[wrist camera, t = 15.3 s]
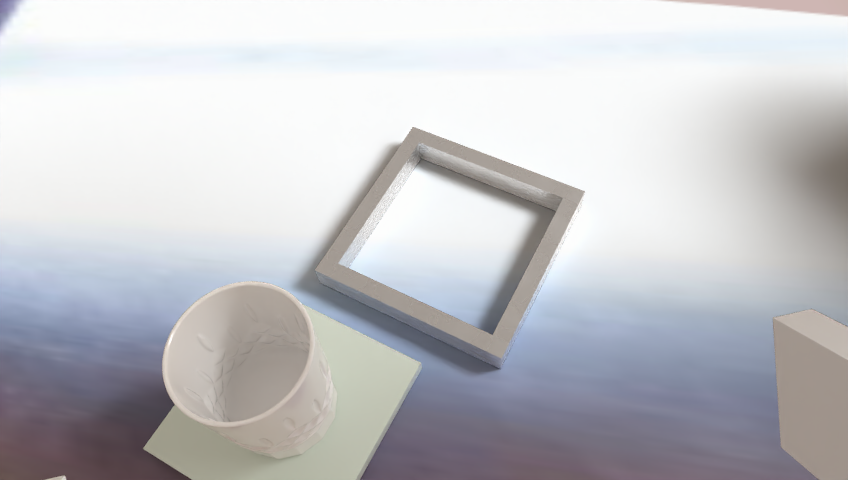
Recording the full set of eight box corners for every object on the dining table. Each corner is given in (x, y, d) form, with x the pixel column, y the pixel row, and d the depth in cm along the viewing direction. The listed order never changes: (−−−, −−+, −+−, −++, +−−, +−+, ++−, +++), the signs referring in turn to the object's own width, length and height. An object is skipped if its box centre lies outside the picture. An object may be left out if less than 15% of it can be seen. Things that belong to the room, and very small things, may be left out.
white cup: (340, 470, 40) (304, 427, 31) (214, 468, 40) (144, 425, 32) (351, 348, 44) (322, 280, 35) (237, 347, 44) (180, 281, 36)
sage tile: (265, 290, 48) (261, 284, 47) (421, 367, 44) (421, 362, 43) (149, 452, 42) (142, 448, 41) (316, 557, 38) (313, 555, 38)
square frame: (415, 142, 54) (413, 126, 52) (581, 206, 50) (584, 191, 48) (320, 283, 48) (314, 270, 46) (500, 369, 43) (501, 358, 42)
